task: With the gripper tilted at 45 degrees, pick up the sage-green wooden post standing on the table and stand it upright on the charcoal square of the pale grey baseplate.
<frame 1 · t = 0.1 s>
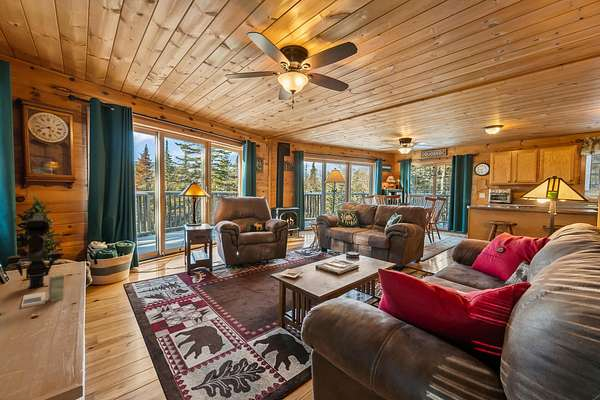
hand: (35, 274, 126), 14 cm above the table, tool pointing down, fingers open, 9 cm apart
baseplate: (34, 300, 128), on the table
post: (55, 299, 131), on the table
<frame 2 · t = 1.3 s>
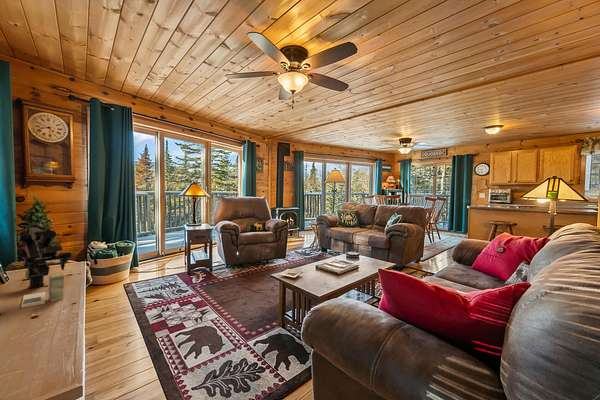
hand: (51, 271, 134), 13 cm above the table, tool tilted 45°, fingers open, 9 cm apart
nothing on the table moved.
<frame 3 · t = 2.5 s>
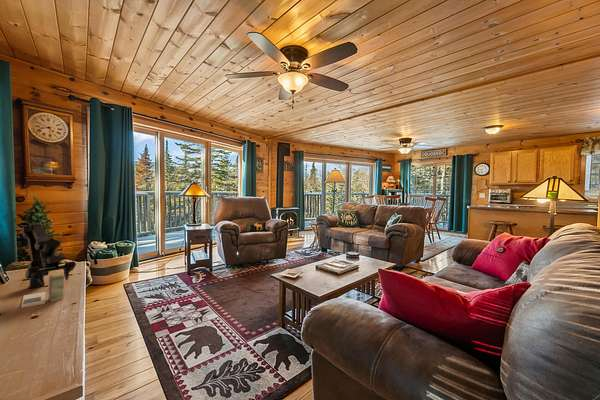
hand: (55, 282, 131), 9 cm above the table, tool tilted 45°, fingers open, 9 cm apart
nothing on the table moved.
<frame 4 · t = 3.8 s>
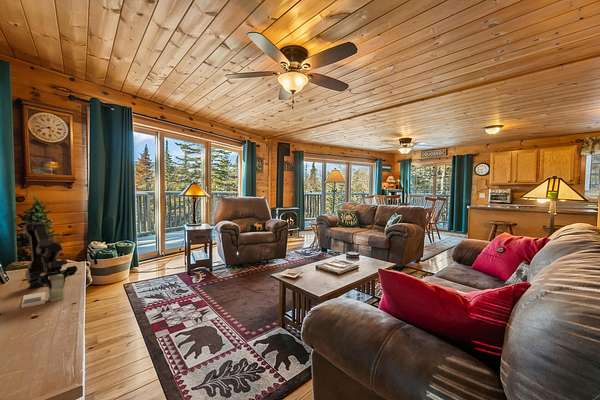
hand: (57, 287, 130), 7 cm above the table, tool tilted 45°, fingers closed on post, 4 cm apart
post: (55, 299, 131), on the table, touching gripper
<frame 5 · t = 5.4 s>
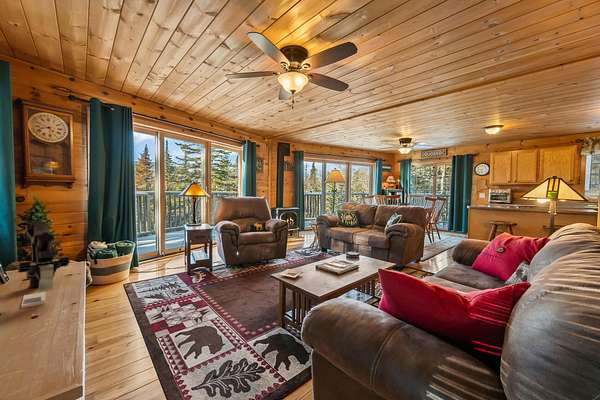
hand: (46, 278, 127), 12 cm above the table, tool tilted 45°, fingers closed on post, 4 cm apart
post: (45, 289, 128), point 6 cm above the table, touching gripper
when the fingers open (9 cm above the table, at t = 7.3 s): post stays where it is, resting on baseplate.
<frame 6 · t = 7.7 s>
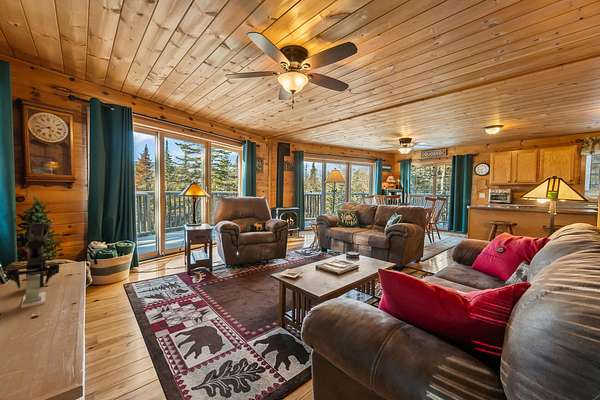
hand: (32, 286, 124), 9 cm above the table, tool tilted 45°, fingers open, 9 cm apart
post: (32, 300, 125), point 1 cm above the table, touching baseplate
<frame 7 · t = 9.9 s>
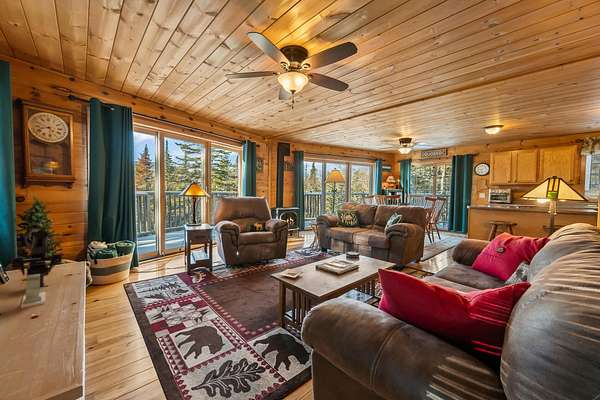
hand: (36, 273, 131), 13 cm above the table, tool tilted 45°, fingers open, 9 cm apart
nothing on the table moved.
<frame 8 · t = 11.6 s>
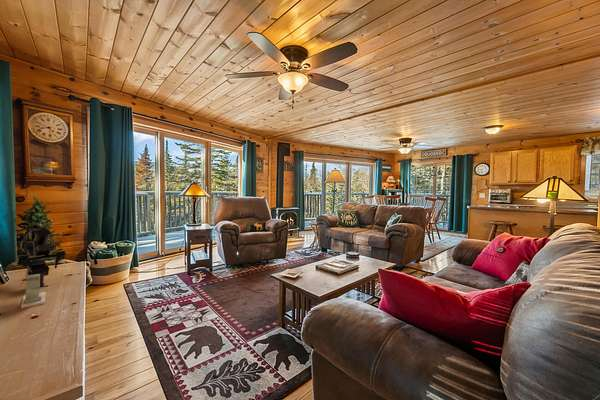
hand: (44, 270, 135), 14 cm above the table, tool tilted 45°, fingers open, 9 cm apart
nothing on the table moved.
at the end: post 0.0 cm from the target spot on the baseplate, point 1.4 cm above the baseplate's base; post tilted 0°; the gripper is holding nothing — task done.
